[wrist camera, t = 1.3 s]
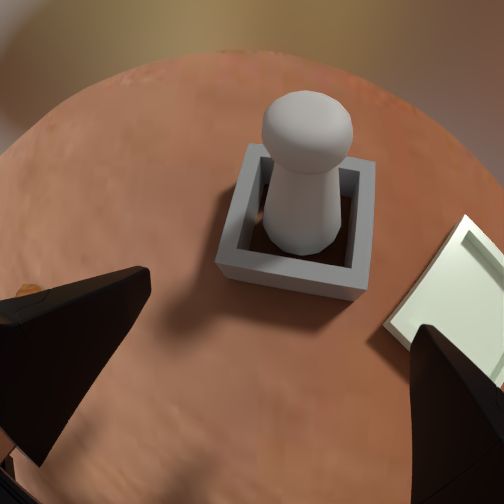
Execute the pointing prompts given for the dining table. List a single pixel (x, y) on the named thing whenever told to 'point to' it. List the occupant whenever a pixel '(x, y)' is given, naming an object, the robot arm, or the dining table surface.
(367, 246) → the holder
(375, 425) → the dining table surface
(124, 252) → the dining table surface
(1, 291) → the dining table surface
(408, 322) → the tray
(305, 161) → the salt shaker
